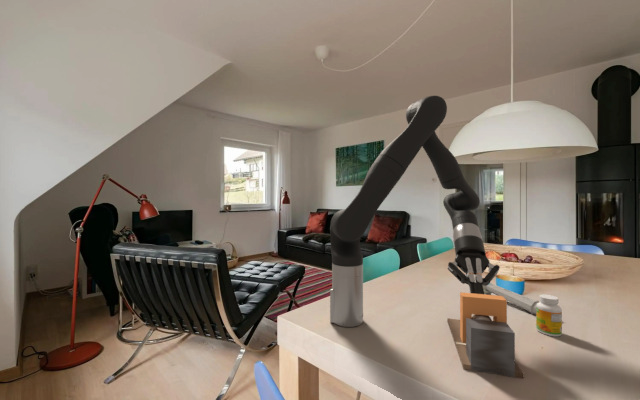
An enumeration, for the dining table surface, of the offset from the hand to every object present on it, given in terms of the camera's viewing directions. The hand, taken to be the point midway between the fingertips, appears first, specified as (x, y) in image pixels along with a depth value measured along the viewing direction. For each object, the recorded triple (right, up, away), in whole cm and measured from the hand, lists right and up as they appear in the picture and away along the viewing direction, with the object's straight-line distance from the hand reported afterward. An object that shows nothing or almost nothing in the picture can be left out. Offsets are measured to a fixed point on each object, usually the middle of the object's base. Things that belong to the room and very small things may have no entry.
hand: (478, 298), depth 70 cm
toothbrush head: (+26, -12, +27) cm, 39 cm away
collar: (-1, -9, -4) cm, 10 cm away
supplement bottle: (+23, -12, +6) cm, 26 cm away
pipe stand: (0, -11, 0) cm, 12 cm away
